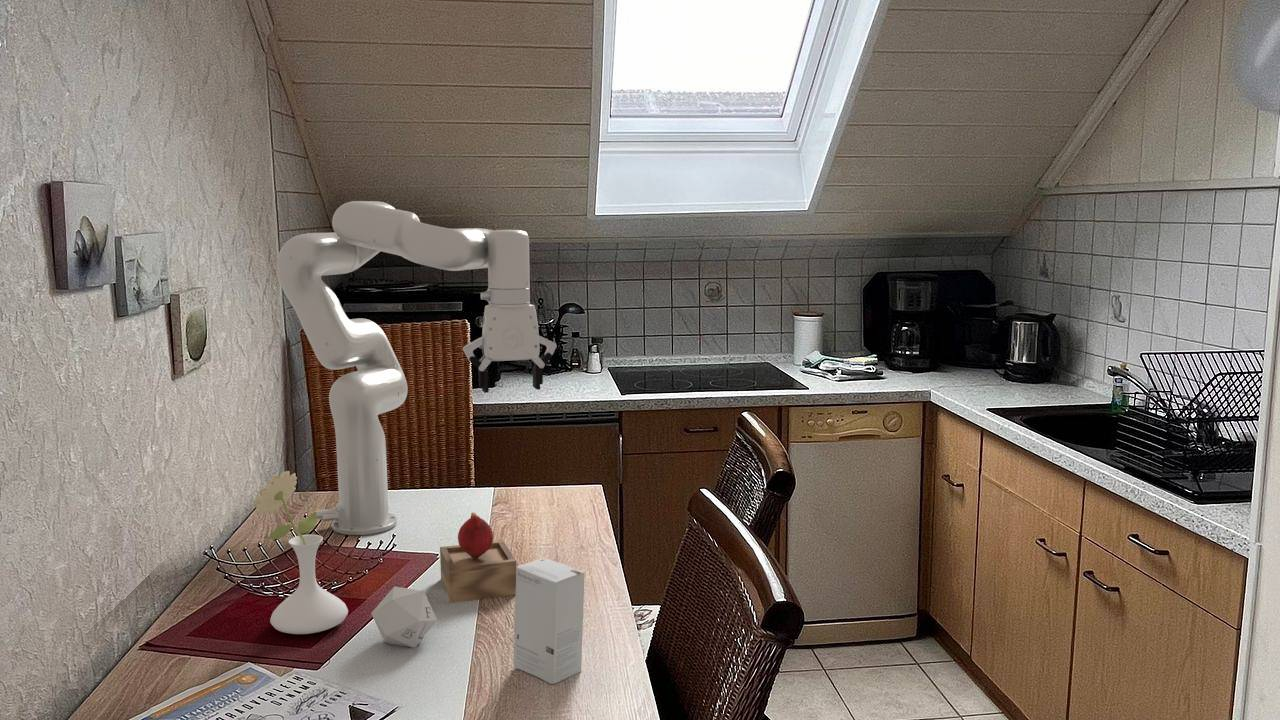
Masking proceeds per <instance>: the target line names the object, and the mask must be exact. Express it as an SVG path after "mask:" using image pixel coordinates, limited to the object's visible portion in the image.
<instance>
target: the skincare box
mask: <svg viewBox="0 0 1280 720" xmlns="http://www.w3.org/2000/svg"><path fill="white" fill-rule="evenodd" d="M584 594H585V572H584V571H581V570H578V569H576V568H574V567H571V566H568V565H567V564H565V563H562V562H557V561H555V560H552V559H548V558H546V557H542V558H539V559H535V560H532V561H531V562H527V563H524V564H521V565H516V594H515V604H514V605H515V606H514V610H515V611H514V637H513V640H514V641H513V667H514V668H515V669H518V671H519V670H520V671H522V672H525V673H527V674H530V675H532V676H534V677H537V678H539V679H541V680H543V681H545V682H546V683H548V684H550V685H555V684H558V683H559V682H562V681H563V680H566V679H569V678H570V677H572V676H574V675H576V674H578V673H580V672H582V656H583V654H582V653H583V630H584V629H583V627H584V625H583V624H584V623H583V622H584V598H585V597H584V596H585V595H584Z"/></svg>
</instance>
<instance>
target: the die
mask: <svg viewBox="0 0 1280 720" xmlns="http://www.w3.org/2000/svg"><path fill="white" fill-rule="evenodd" d="M371 616H372V618H373V621H374V622H375V625H376V627H377V628H378V630H379V633H380V635H381V638H382V639H383V641H384V643H385V644H390V645H396V646H400V647H407V648H412V649H414V648H416V647H417V646H418V644H419V643H420V642H421V641H422V639H423V638H425V636H426V635H427V634H428V632H429V631H430V630H431V629H432V628H433V626H434V625H435V624H436V622H437V621H438V619H437V617H436V614H435V613H434V610H433V608H432V606H431V604H430V601H429V599H428V597H427V595H426V592H425V591H424V590H423V589H422V590H420V589H415V588H407V587H401V586H396V585H395V586H393V587H392V589H391V590H390V591H389V592H388V593H387V594H386V595H385V597H383V599H382V600H381V601H380V603H379V604H378V605H377V606H376V607H375V608H374V610H372V611H371Z"/></svg>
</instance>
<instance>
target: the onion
mask: <svg viewBox="0 0 1280 720" xmlns="http://www.w3.org/2000/svg"><path fill="white" fill-rule="evenodd" d="M457 540H458V541H457V542H458V545H460V547H461V549H462V550H464V551H465V552H466V553H467V554H468V555H470V556H471V557H472V558H474V559H476V558H478V557H480V556H481V555H483V554H484V553H485V552H486V551H487V550H488V549H489V548H490V547H491V545H492V543H493V541H494V533H493V530H492V528H491V526H490V525H489V523H487V522H486V521H485V520H484V519H482V518H481V517H480V516H479V515H477V513H476V512H471V513H470V517H469V519H467V520H466V521H465V522H464V523H463V524H462V525H461V527H460V529H459V530H458V533H457Z"/></svg>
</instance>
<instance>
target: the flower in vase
mask: <svg viewBox="0 0 1280 720" xmlns="http://www.w3.org/2000/svg"><path fill="white" fill-rule="evenodd" d="M296 475H297V474H296V472H294V473H292V474H290V471H289V470H287V471H282V472H281V473H280V475H279V474H274V475H273V476H272V478H271V479H270V480H269V481H267V484H266V485H265V487H263V488H260V489H259V491H258V494H259V495H260V496H258V497H257V498H255V500H254V503H253V505H252V507H253V508H256V509H255V510H254V514H258V515H259V516H260V515H263V516H267V515H268V514H273V513H275V511H278V510H279V509H280V508H281V507H282V505H283V507H284V508H285V511H286V513H287V516H288V519H289V521H290V524H291V525H290V524H282V525H279V526H278V527H276V528H275V529H274V530H273V531H272V532H271V533H270V535H269V536H268V538H267V541H269V540H278V539H282V538H285V537H286V535H288V534H289V532H290V531H291V530H292V528H293V529H294V531H295V533H296V534H297V536H293V537H292V538H290V539H288V544H289V545H290V546H291V548H293V550H294V552H295V554H296V557H297V562H298V567H299V569H298V570H299V583H298V586H297V588H296V590H295V591H294V592H292V593H291V594H290V595H288V596H287V598H284V600H283V601H282V602H281V603H280V604H279V605H277V607H276V608H275V609H274V610H273V611H272V613H271V617H270V618H269V619H270V620H269V621H270V624H271V626H273V628H274V629H275V630H277V631H279V632H281V633H286V634H291V635H310V634H315V633H316V634H317V633H321V632H323V631H324V632H325V631H327V630H330V629H332V628H335V627H336V626H338V625H339V624H341V623H342V622H343V621H345V619H346V617H347V616H348V614H349V609H348V607H347V605H346V603H345V602H344V601H343V600H342V599H340V598H339V597H338V596H336V595H334V594H332V593H331V592H329V591H327V590H325V589H324V588H322V587H321V586H320V585H319V584H318V582H317V577H316V556H317V552H318V549H319V547H320V545H321V543H322V542H323V540H324V537H323V536H321V535H318V534H305V533H308V532H310V531H312V530H313V529H315V528H316V526H317V522H318V520H317V515H316V511H315V512H313V513H311V514H310V515H308V516H307V517H305V518H303V519H302V520H300V521H299V522H298V524H297V525H298V526H297V527H298V528H297V527H296V526H295V524H294V522H293V519H292V516H291V513H290V510H289V508H288V506H287V502H288V501H289V499H290V498H291V497H292V495H293V493H294V492H295V491H296V489H297V487H295V486H297V483H298V482H297V479H298V478H297V476H296ZM302 534H303V535H302Z"/></svg>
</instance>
